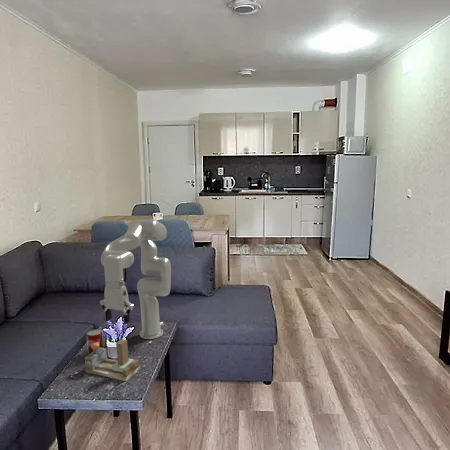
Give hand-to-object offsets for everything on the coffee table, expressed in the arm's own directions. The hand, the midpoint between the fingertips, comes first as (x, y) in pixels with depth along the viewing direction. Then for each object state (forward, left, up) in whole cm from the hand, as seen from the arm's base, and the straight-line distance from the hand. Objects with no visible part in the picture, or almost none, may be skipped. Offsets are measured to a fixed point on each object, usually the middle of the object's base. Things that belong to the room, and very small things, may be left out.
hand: (117, 321), depth 174 cm
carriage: (-1, +1, -22) cm, 22 cm away
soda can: (-10, -22, -25) cm, 35 cm away
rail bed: (-1, -5, -24) cm, 25 cm away
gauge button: (-1, -14, -18) cm, 23 cm away
